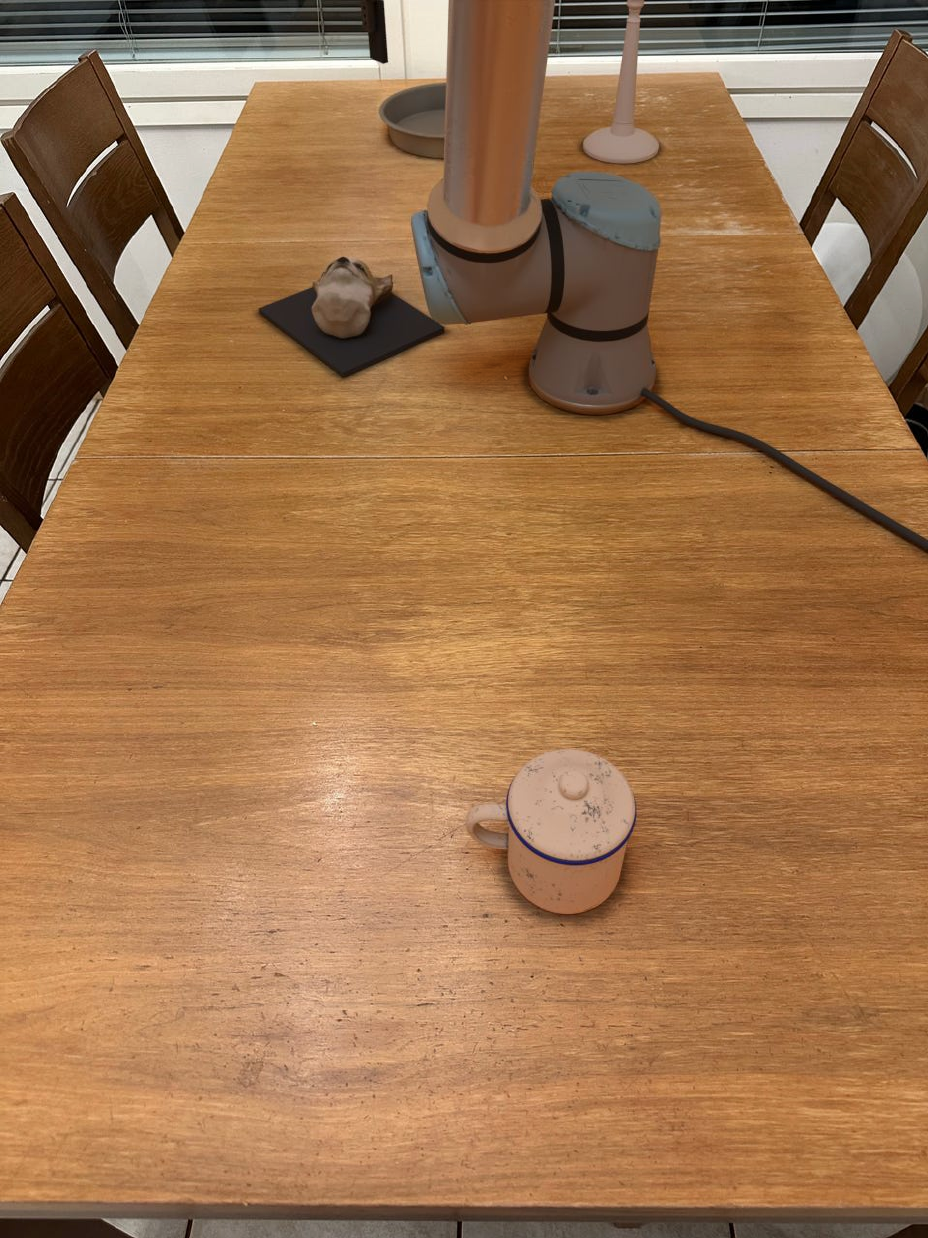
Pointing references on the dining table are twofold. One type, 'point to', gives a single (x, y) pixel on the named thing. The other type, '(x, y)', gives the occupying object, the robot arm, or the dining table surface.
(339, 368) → the desk pad
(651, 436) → the dining table surface
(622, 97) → the candlestick
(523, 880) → the teacup with lid
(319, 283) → the ceramic sculpture
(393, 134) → the cake pan
